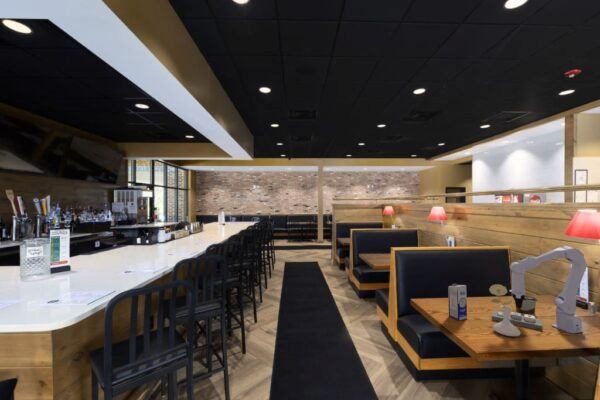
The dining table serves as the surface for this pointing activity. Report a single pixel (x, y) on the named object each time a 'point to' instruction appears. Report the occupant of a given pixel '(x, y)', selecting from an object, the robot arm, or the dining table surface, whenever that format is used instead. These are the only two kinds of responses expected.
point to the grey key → (516, 315)
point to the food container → (527, 305)
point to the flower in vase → (505, 325)
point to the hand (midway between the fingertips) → (519, 307)
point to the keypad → (518, 321)
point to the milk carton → (457, 302)
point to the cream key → (529, 318)
